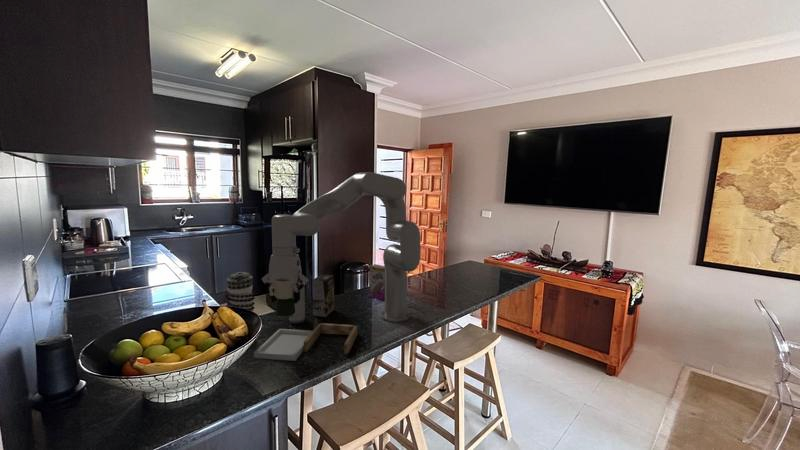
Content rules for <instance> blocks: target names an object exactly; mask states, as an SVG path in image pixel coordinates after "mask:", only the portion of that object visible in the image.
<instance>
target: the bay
mask: <svg viewBox="0 0 800 450" xmlns="http://www.w3.org/2000/svg"><path fill="white" fill-rule="evenodd" d="M311 331H312V332H311V333H310V335H309V336H308V337H307V338H306V340H305V341H304V350H303V352H305V353H307V352H308V351H309V350H310V349H311V348H312V346H313V345H314V343H315V342H316V341H317V340H318V338H319V337H320V336H321V334H325V335H326V334H327V335H343V336H344V335H345V336H347V339H346V340H345V342H344V344H343V355H347V356H348V355H349V352H350V350H351V349H352V347H353V345H354V342H355V340H356V339H357V336H358V335H359V332H358V331H359V325H356V324H339V323H327V322H326V323H325V322H324V323H322V322H319V323H318V324H317V325H316V326H315V327H314V328H313V330H311Z"/></svg>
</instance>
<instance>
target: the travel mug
mask: <svg viewBox="0 0 800 450" xmlns="http://www.w3.org/2000/svg"><path fill="white" fill-rule="evenodd" d="M302 275H304V276H305V274H304V273H302ZM301 284H302V280H301V281H300V285H301ZM305 286H306V285H305ZM305 286H304V287H303V288H302V289H301V290H300V300H299V301H298V302H297V303H296V304H294V305H295V313H294V314H293V315H291V316H288V317H289V318H288V320H289V323H291V324H300V323H303V322H305V321H306V299H305V295H306V293H305V292H306V291H305V289H306V288H305ZM292 298H293V299H294V297H292Z"/></svg>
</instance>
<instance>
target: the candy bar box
mask: <svg viewBox="0 0 800 450" xmlns="http://www.w3.org/2000/svg"><path fill="white" fill-rule="evenodd" d="M368 291H369V295H368V297H369V298H372V299H375V300H380V301H384V302H385V267H384V265H381V264H376V263H375V264H371V265H369V289H368Z"/></svg>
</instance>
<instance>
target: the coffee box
mask: <svg viewBox="0 0 800 450" xmlns="http://www.w3.org/2000/svg"><path fill="white" fill-rule="evenodd" d="M334 310H335V275H333V274H332V275H331V274H320V275H318V276H317V277H315V278H313V279H312V316H315V317H324V318H325V317H328V316H329V314H331V313H332V312H333V311H334Z"/></svg>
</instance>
